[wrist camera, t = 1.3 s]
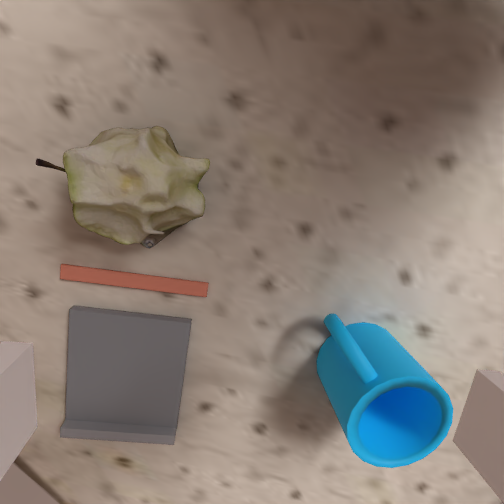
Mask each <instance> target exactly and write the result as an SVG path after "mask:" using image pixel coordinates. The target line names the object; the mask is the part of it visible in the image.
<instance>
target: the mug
mask: <svg viewBox="0 0 504 504" xmlns="http://www.w3.org/2000/svg"><path fill="white" fill-rule="evenodd" d="M324 324H325V325H326V327H327V329H328V330H329V332H330V333H331V336H330V337H328V338H327V339H326V341H325V342H324V344H323V345H322V347H321V348H320V350H319V354H318V357H317V361H316V362H317V373H318V375H319V378H320V380H321V382H322V384H323V386H324V389H325V391H326V393H327V395H328V398H329V400H330V402H331V404H332V406H333V409H334V411H335V413H336V415H337V418H338V420H339V422H340V424H341V426H342V429H343V431H344V433H345V435H346V438H347V440H348V442H349V444H350V446H351V448H352V450H353V452H354V453H355V454H356V455H357V456H358V457H359V458H360V459H362V460H363V461H364V462H367V463H369V464H372V465H374V466H377V467H388V468H394V467H399V466H405V465H409V464H411V463H414V462H416V461H418V460H421V459H423V458H424V457H426V456H427V455H428V454H430V453H431V452H432V451H434V450H435V449H436V448H437V447H438V446H439V445H440V443H441V442H442V441H443V440H444V438H445V437H446V436H447V433H448V431H449V429H450V426H451V424H452V417H453V407H452V404H451V401H450V398H449V395H448V394H447V393H446V392H445V391H444V389H443V388H442V387H441V386H440V385H439V384H438V383H437V382H436V381H435V380H434V379H433V378H432V377H431V376H430V375H429V374H428V373H427V372H426V370H425V369H424V368H423V367H422V366H421V365H420V364H419V363H418V362H417V361H416V360H415V359H414V358H413V357H412V356H411V355H410V354H409V353H408V352H407V351H406V350H405V349H404V348H403V347H402V346H401V345H400V344H399V342H398V341H397V340H396V339H395V338H394V337H393V336H392V335H391V334H390V333H389V332H388V331H387V330H386V329H384V328H382V327H380V326H378V325H376V324H370V323H364V322H362V323H355V324H349V325H347V326H344V324H343V323H342V322H341V320H340V319H339V317H338V316H337V315H336V314H329V315H327V316H326V317H325V319H324Z"/></svg>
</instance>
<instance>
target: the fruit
mask: <svg viewBox="0 0 504 504" xmlns="http://www.w3.org/2000/svg"><path fill="white" fill-rule="evenodd" d="M63 164H64V168H65V169H64V168H61V167H58V166H55V165H53V164H51V163H49V162H47V161H44V160H41V159H37V160H36V165H38V166H44V167H49V168H54V169H57V170H61V171H64V172H66V173H67V178H68V190H69V196H70V201H71V203H73V216H74V219H75V220H76V222H77V223H78V224H79V225H80V226H81V227H84V228H86V229H87V230H89V231H91V232H95V233H97V234H99V235H101V236H104V237H108V238H110V239H112V240H114V241H116V242H118V243H121V244H126V245H129V244H133V243H141V244H142V245H143V246H145V247H146V248H151V247H153V246H154V245H156V244H157V243H158V242H159V241H161V240H162V239H163V238H164V237H165V236H167V235H168V234H170V233H171V232H172V231H174V230H175V229H177V228H178V227H180V226H182V225H184V224H185V223H187V222H189V221H191V220H193V219H195V218H197V217H201V216H203V213H204V210H205V199H204V196H203V194H202V193H201V192H200V191H199V190H198V183H199V182H200V180H201V178H202V177H203V175H204V174H205V173H206V172H207V171H208V169H209V165H210V161H209V159H201V158H198V159H194V158H190V157H182V156H180V155H179V154H178V152H177V150H176V148H175V146H174V143H173V141H172V139H171V137H170V135H169V134H168V132H167V131H166V130H165V129H164V128H162V127H159V126H155V127H152V128H145V129H140V130H139V129H133V128H130V129H122V128H114V129H109V130H106V131H103V132H101V133H100V134H99V135H98V136H97V137H96V138H95V139H94V140H93V142H92V143H91V144H90V145H89V146H87V147H83V148H73V149H70V150H68V151H66V152H65V153H64V155H63ZM147 243H152V246H150V247H149V246H148V245H147Z"/></svg>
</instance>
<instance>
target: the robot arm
mask: <svg viewBox="0 0 504 504" xmlns="http://www.w3.org/2000/svg"><path fill="white" fill-rule="evenodd" d="M37 427H38V425H37V407H36V388H35V370H34V351H33V343H28V342H12V341H2V342H1V343H0V481H1V479H2V478H3V477H4V475H5V474H6V472H7V471H8V469H9V468H10V466H11V465H12V464H13V462H14V461H15V459H16V458H17V456H18V455H19V453H20V452H21V450H22V449H23V447H24V446H25V444H26V443H27V442H28V440H29V439H30V437H31V436H32V434H33V433H34V431H35V430H36V428H37ZM453 442H454V443H455V444H456V445H457V447H458V448H459V449H460V450H461V452H462V453H463V454H464V455H465V456H466V458H467V459H468V460H469V461H470V463H471V464H472V465H473V466H474V468H475V469H476V470H477V471H478V472H479V474H480V475H481V476H482V477H483V479H484V480H485V481H486V482H487V484H488V485H489V486H490V487H491V488H492V490H493V491H494V492H495V493H496V495H497V496H498V497H499V498H500V500H501V501H502V502H503V503H504V374H503V373H501V372H500V371H494V370H477V371H476V374H475V377H474V380H473V383H472V386H471V389H470V391H469V394H468V397H467V400H466V403H465V406H464V409H463V412H462V415H461V418H460V421H459V424H458V426H457V429H456V432H455V435H454V438H453Z"/></svg>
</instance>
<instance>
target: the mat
mask: <svg viewBox="0 0 504 504" xmlns="http://www.w3.org/2000/svg"><path fill="white" fill-rule="evenodd" d="M191 321H192V319H186V318H178V317H169V316H160V315H152V314H143V313H134V312H126V311H117V310H108V309H99V308H91V307H82V306H73V307H72V308H71V309H70V310H69V336H68V363H67V390H66V417H65V421H64V423H63V424H62V426H61V428H60V437H63V438H78V439H93V440H108V441H123V442H138V443H153V444H168V445H174V441H175V435H176V429H177V422H178V414H179V407H180V400H181V393H182V386H183V378H184V371H185V364H186V357H187V350H188V342H189V335H190V328H191Z"/></svg>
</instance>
